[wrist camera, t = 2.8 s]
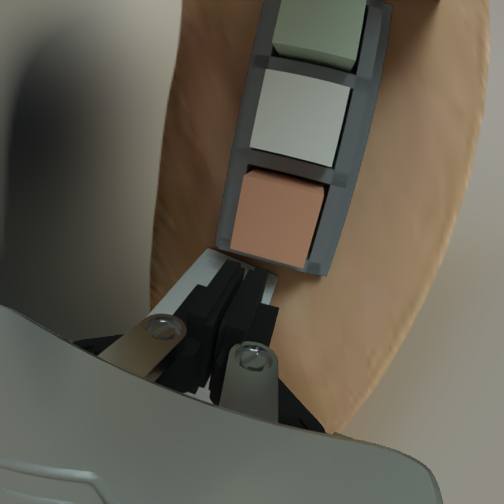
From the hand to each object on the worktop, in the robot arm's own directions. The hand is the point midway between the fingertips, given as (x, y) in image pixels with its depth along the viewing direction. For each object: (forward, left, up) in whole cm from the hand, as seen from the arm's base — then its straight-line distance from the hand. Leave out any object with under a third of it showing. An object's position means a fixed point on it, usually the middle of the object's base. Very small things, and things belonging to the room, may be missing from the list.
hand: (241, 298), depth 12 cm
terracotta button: (-1, 0, -12) cm, 12 cm away
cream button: (-7, 0, -12) cm, 14 cm away
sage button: (-14, 0, -12) cm, 19 cm away
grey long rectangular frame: (-7, 0, -15) cm, 17 cm away
